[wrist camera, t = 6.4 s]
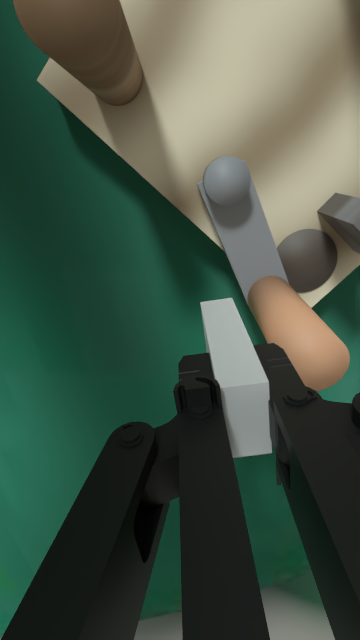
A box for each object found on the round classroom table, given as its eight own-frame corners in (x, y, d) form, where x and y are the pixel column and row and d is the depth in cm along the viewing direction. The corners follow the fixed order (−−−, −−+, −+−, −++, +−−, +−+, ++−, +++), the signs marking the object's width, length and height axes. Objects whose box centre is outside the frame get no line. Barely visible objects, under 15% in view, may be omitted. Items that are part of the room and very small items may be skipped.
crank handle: (190, 170, 17) (203, 178, 10) (236, 146, 16) (284, 138, 9) (252, 316, 20) (294, 400, 13) (291, 299, 20) (356, 376, 13)
